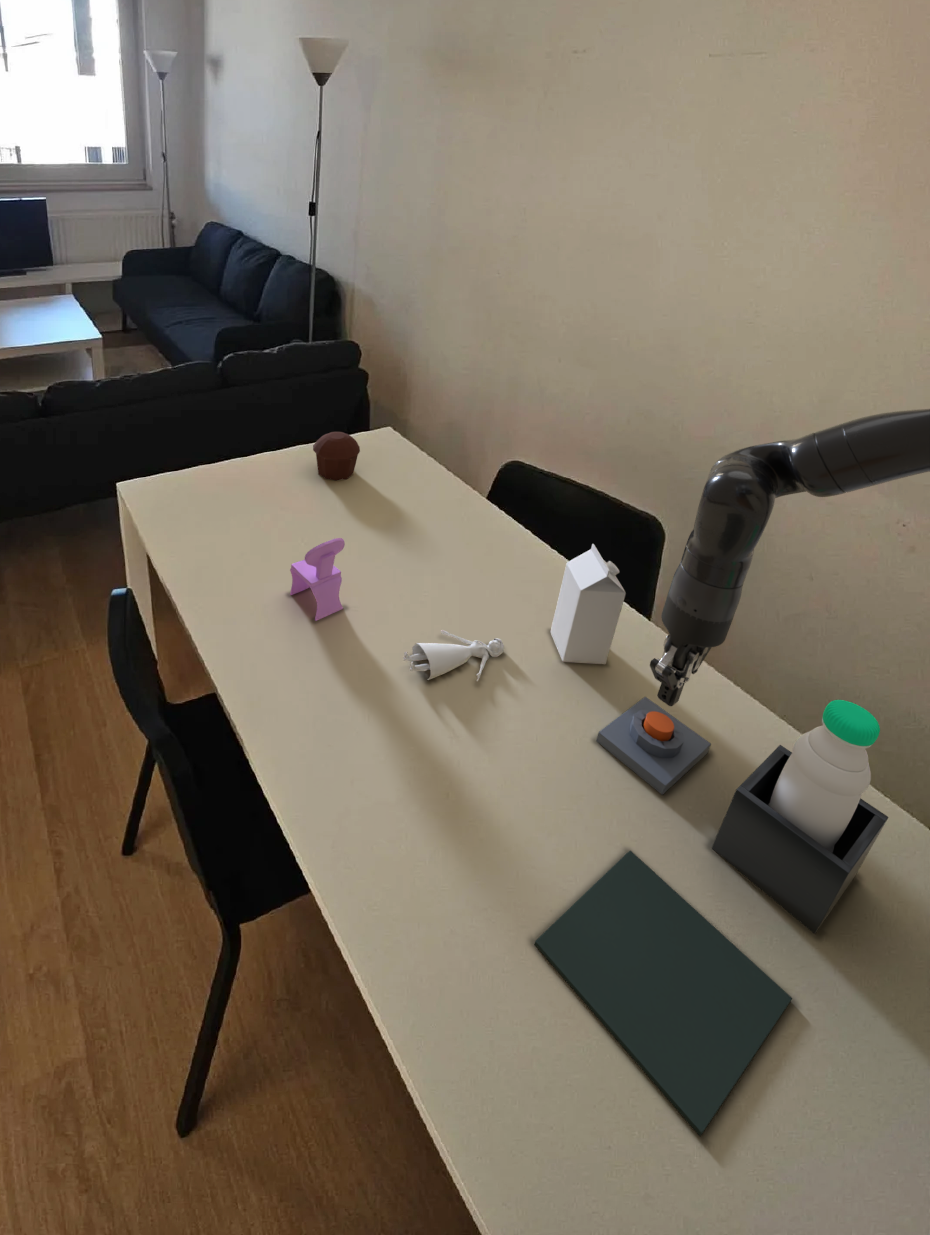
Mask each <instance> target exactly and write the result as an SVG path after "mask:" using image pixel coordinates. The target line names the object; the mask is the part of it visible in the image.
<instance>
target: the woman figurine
mask: <svg viewBox="0 0 930 1235" xmlns="http://www.w3.org/2000/svg"><path fill="white" fill-rule="evenodd" d="M440 633H441V635H445V636H448V637H451V638H453V639H455V640H457V641H459V642H461V643H463V644H466V645H463V644H456V643H455V644H454V643H437V642H415V643H414V644H413V646H412V647H411V648H412V649H411V650H412V652H411V653H412V654H411V655H409V654H408V651H404V652H403V658H402V660H403V661H410V663H409V666H410V667H409V671H411V672H426V671H429V670H430V675H429V677H428V678H427V679H426V680H428V681H430V680H432V679H434V678H438V677H439V676H441V675H444V674H446V673H449V672H450V671H452V670H454V669H456V668H459V667H460V666H462V665H464V664H465V663H467V662H468V661H469V659H470V658H471V657H476V658H478V659H479V658H480V659H481V662H480V665H479V670H478V673H476V675H475V676H477V679H476V680H475V681H476V682H479V681H480V678H481V675H482V672H483V670H484V668H485V666H486V662H487V660H489V659H490V656H491V657H492V658H497V657H499V656H501V655H502V654H503V653H504V651H505V645H504V642H503V640H502V639H501V638H494V639H492V640H490V641H489V642H488V644H486V643H484V642H483V641H481V640H477V639H475V640H473V641H472V640H468V639H466V638H464V637H461V636H458V635H455V634H453V633H450V632H448V631H446V630H444V629H441V630H440ZM422 660H423V661H424V660H428V663H421V664H414V662H419V661H422Z"/></svg>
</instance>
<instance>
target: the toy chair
mask: <svg viewBox="0 0 930 1235" xmlns="http://www.w3.org/2000/svg"><path fill="white" fill-rule="evenodd" d="M345 546H346V543H345V539H344V538H342V537H336V538H335V537H334V538H333V539H329V540H327V541H324V542H321V543H319V544H318V545H316V546H314V547H312V548H311V549H309V551H307V552H306V553H305V556H304V559H302V560H299V561H296V562H293V563H291V564H290V569H289V571H290V574H291V586H290V588H291V589H290V592H289V595H290V596H293V595H296V594H298V593H300V592H303V591H305V590H308V589H310V590H311V593H312V594H313V597H314V598H315V601H316V612H315V617H314V621H315V622H317V621H319V620H321V619H323V618H326V617H328V616H330V615H333V614H334V613H337V612H339V611H341V610H343V609H344V607H343V604H342V603H341V600H340V590H341V585H342V581H343V580H342V579H343V577H342V571H341V570H340V569H339V568H338V567H337V566H335V565H334V563H335V559H336V556H337V555H338V554H339V553H341V552H342V551H343V550H344V548H345Z"/></svg>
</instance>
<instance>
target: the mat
mask: <svg viewBox="0 0 930 1235" xmlns="http://www.w3.org/2000/svg"><path fill="white" fill-rule="evenodd" d="M533 944H534V946H535V947H536V948H537V950H538V951H540V953H541V954H542V955H543V956H544V957H545V959H546V960H547V961H548V962H549V963H550V964H551V965H552V967H553V968H554V969H555V970H556V972H557V973H558V974H559V975H560V976H561V978H563V980H564V981H565V982H566V983H567V984H568V985H569V986H570V988H571V989H572V990H573V991H574V992H575V994H577V996H578V997H579V998H580V999H581V1000H582V1002H583V1003H584V1005H586V1006H587V1007H588V1009H589V1010H590V1011H591V1012H592V1013H593V1014H594V1016H595V1017H596V1018H597V1019H598V1020H599V1021H600V1023H602V1025H603V1026H604V1027H605V1028H606V1029H607V1031H608V1032H609V1033H610V1034H611V1035H612V1036H613V1038H615V1040H616V1041H617V1042H618V1043H619V1044H620V1046H621V1047H622V1048H623V1049H624V1050H625V1051H626V1052H627V1053H628V1055H629V1056H630V1057H631V1059H633V1061H634V1062H635V1063H636V1064H637V1065H638V1066H639V1067H640V1068H641V1070H642V1071H643V1072H644V1073H645V1075H646V1076H647V1077H648V1078H649V1079H650V1080H651V1081H652V1083H653V1084H654V1085H655V1086H656V1087H657V1088H658V1090H659V1091H660V1092H661V1093H662V1094H663V1096H664V1097H665V1098H666V1099H667V1100H668V1101H669V1102H670V1103H671V1105H672V1106H673V1107H674V1109H676V1110H677V1111H678V1113H679V1114H680V1115H681V1116H682V1118H683V1119H684V1120H685V1121H686V1122H687V1123H688V1125H689V1126H691V1128H692V1129H693V1130H694V1132H696V1134H697V1135H698V1136H699V1137H701V1136H702V1135H703V1133H704V1132H705V1131H706V1129H707V1127H708V1126H709V1125H710V1123H711V1121H712V1120H713V1119H714V1117H715V1116H716V1114H717V1113H718V1112H719V1110H720V1109H721V1107H722V1106H723V1104H724V1102H725V1101H726V1100H727V1097H728V1096H729V1095H730V1094H731V1092H732V1090H733V1089H734V1087H735V1085H736V1084H737V1083H738V1081H739V1079H740V1078H741V1077H742V1075H743V1073H744V1072H745V1071H746V1069H747V1068H748V1066H749V1064H750V1063H751V1061H752V1060H753V1059H754V1057H755V1056H756V1054H758V1051H759V1050H760V1048H761V1046H762V1045H763V1044H764V1042H765V1041H766V1039H767V1038H768V1036H769V1035H770V1033H771V1032H772V1030H773V1029H774V1027H775V1026H776V1024H777V1023H778V1021H779V1019H780V1018H781V1017H782V1015H784V1012H785V1011H786V1009H787V1007H788V1006H789V1005H790V1003H791V1002H792V1000H793V998H792V996H790V995H789V994H788V993H787V992H786V991H785V990H784V989H783V987H781V986H780V985H778V984H777V983H776V982H775V981H774V980H773V979H772V978H771V977H770V976H769V975H768V974H766V973H765V972H764V971H763V970H762V969H761V968H760V967H759V966H757V964H756V963H754V962H753V960H751V959H750V958H749V957H748V956H747V955H745V954H744V952H742V951H741V950H740V949H739V948H738V947H737V946H736V945H735V944H733V942H731V941H730V940H729V939H728V938H727V937H726V936H725V935H724V934H723V933H722V932H721V931H720V930H718V929H717V928H716V927H715V926H714V925H713V924H712V923H711V922H710V921H709V920H707V919H706V918H705V916H703V915H702V914H700V912H699V911H698V910H697V909H695V908H694V907H693V906H692V905H691V904H690V903H689V902H688V901H686V900H685V898H684V897H682V896H681V895H680V894H679V893H677V891H675V889H673V888H672V887H671V886H670V885H669V884H668V883H667V882H665V880H664V879H663V878H662V877H660V876H659V875H658V874H657V873H656V872H655V871H654V870H653V869H651V868H650V867H649V866H648V865H647V864H646V863H645V862H644V861H643V860H641V859H640V858H639V857H638V856H637V855H636V854H635V853H634V852H633V851H632V850H628V852H626V854H624V855H623V856H622V857H620V859H619V860H618V861H617V862H616V863H615V864H614V865H613V866H611V868H610V869H608V871H607V872H606V873H605V874H603V876H601V877H600V878H599V879H598V880H597V881H596V882H595V883H594V884H593V885H591V887H590V888H589V889H588V890H586V892H585V893H584V894H583V895H581V897H579V899H577V900H576V901H575V902H574V903H573V904H572V905H571V906H570V907H569V908H568V909H567V910H566V911H565V912H564V913H563V914H562V915H561V916H559V918H557V919H556V920H555V921H554V922H553V923H552V925H550V926H549V927H548V928H547V929H546V930H545V931H544V932H543V933H542V934H541V935H540V936H539V937H538V938H537V939H536V940H534V943H533Z"/></svg>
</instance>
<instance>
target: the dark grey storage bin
mask: <svg viewBox="0 0 930 1235" xmlns="http://www.w3.org/2000/svg"><path fill="white" fill-rule="evenodd" d="M791 754H792V751H791V750H789V749H787V748H786V747H785V746H783V745H781V744H779V745H778V746H777V747H776V748H775V749H774V750H773V751H772V752H771V753H770V754H769V755H768V756H767V757H766V759H764V760H763V761H762V762H761V763H760V764H759V766H758V767H756V768H755V770H754V771H753V772H752V773H751V774H750V775H748V777H747V778H746V779H745V780H743V782H742V783H741V784H740V785H739V786H738V787H737V788H736V790H735V791H734V794H733V797H732V799H731V801H730V804H729V806H728V808H727V810H726V813H725V815H724V818H723V820H722V822H721V825H720V827H719V828H718V831H717V834H716V836H715V838H714V841H713V843H712V846H711V849H712V850H713V851H714V852H715V853H717V854H718V855H719V856H720V857H721V858H722V859H723V860H725V862H727V863H729V864H730V865H731V866H732V867H733V868H735V869H736V870H737V871H738V872H739V873H741V874H742V875H743V876H744V877H745V878H746V879H748V880H749V881H750V882H751V883H753V884H754V885H755V886H756V887H757V888H759V889H760V890H761V891H762V892H763V893H765V894H766V895H767V896H768V897H770V898H771V899H772V900H773V901H774V902H776V903H777V904H778V905H779V906H780V907H781V908H783V909H784V910H785V911H787V913H789V914H790V915H791V916H793V918H795V919H796V920H797V921H799V923H801V924H802V925H803V926H805V928H807V929H808V930H809V931H810V932H812V933H813V934H816V933H817V932H818V931H819V929H820V927H821V926H822V925H823V923H824V922H825V920H826V919H827V917H828V916H829V914H830V913H832V910H833V909H834V907H835V906H836V905H837V903H838V902H839V900H840V899H841V897H842V896H843V895H844V893H845V891H846V890H847V889H848V887H849V886H850V884H851V883H852V881H854V879H855V877H856V875H857V874H858V872H859V870H860V868H861V867H862V865H863V863H864V862H865V859H866V858H867V856H868V854H869V852H870V851H871V849H872V848H873V845H874V844H875V842H876V840H877V838H878V837H879V835H880V834H881V833H882V832H881V831H882V830H883V828H884V826H885V825H886V822H887V821H888V819H889V816H888V815H887V814H885V813H883V812H882V811H880V810H879V809H877V808H876V807H875V806H873V805H872V804H870V803H869V802H867V801H865V800H864V799H862V798H860V801H859V803H858V805H857V808H856V810H855V812H854V814H853V816H852V818H851V820H850V822H849V824H848V825H847V827H846V829H845V831H844V832H843V834H842V835H841V837H840V838H839V840H838V841H837V842H836V844H835V845H834V850H833V853H831V852H830V851H829V850H827V849H826V848H825V847H823V846H822V845H821V844H819V843H818V842H817V841H815V840H814V839H812V838H811V837H810V836H808V835H807V834H806V833H804V832H803V831H802V830H800V829H799V828H798V827H796V826H795V825H794V824H792V823H791V822H789V821H788V820H787V819H785V818H784V817H783V816H781V815H780V814H779V813H777V812H776V811H775V810H773V809H772V808H771V807H769V806H768V804H769V803H770V799H771V796H772V793H773V790H774V788H775V785H776V783H777V781H778V778H779V776H780V774H781V772H782V770H783V768H784V766H785V764H786V762H787V760H788V759H789V757H790V755H791Z"/></svg>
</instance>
